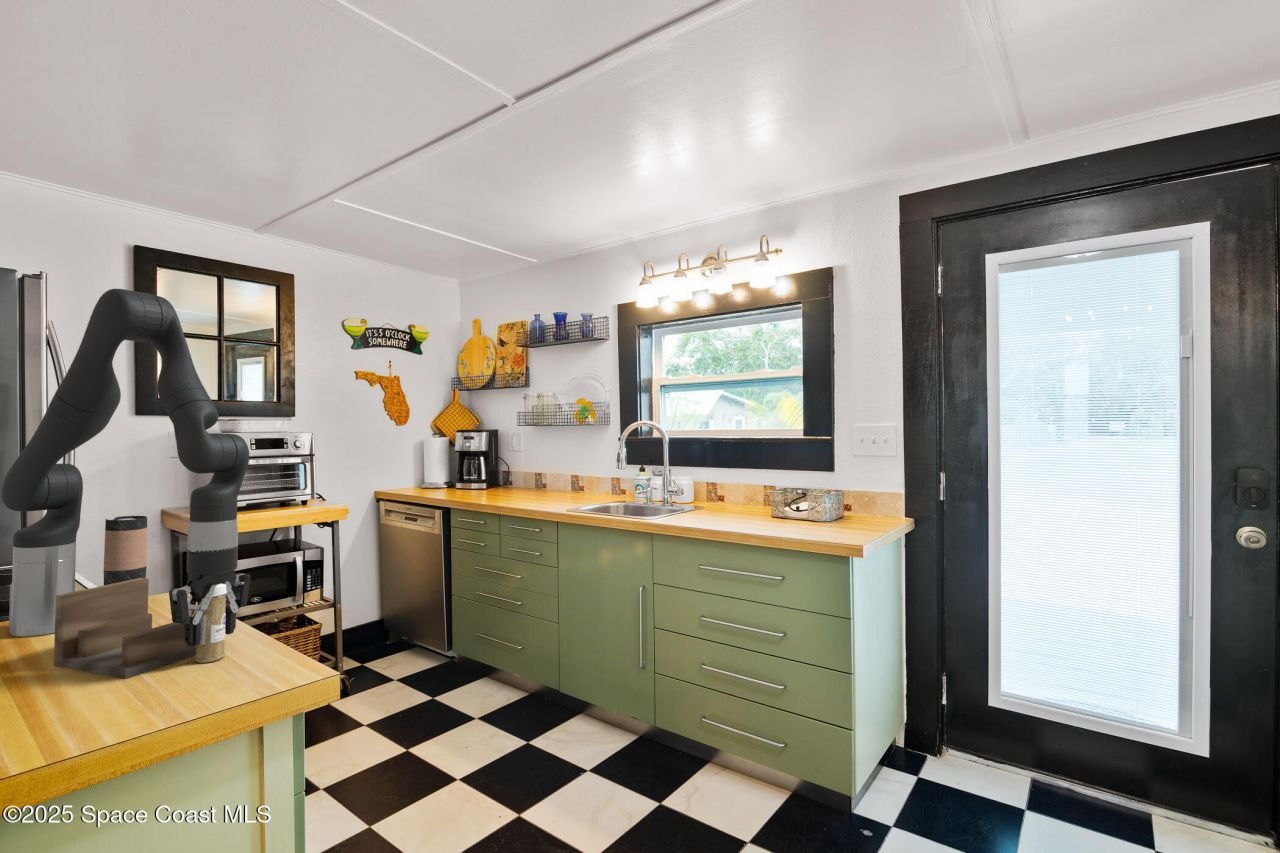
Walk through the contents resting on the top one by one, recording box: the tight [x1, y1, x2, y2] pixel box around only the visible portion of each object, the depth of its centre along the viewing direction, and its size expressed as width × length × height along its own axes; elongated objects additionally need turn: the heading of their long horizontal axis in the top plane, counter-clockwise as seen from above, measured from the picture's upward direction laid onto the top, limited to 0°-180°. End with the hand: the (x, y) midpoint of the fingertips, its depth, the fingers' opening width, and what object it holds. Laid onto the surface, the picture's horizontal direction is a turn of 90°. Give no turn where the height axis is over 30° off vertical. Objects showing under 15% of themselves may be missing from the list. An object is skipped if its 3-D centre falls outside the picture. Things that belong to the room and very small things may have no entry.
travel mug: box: [103, 515, 148, 586], centre depth 144 cm, size 8×8×20 cm
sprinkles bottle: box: [194, 583, 227, 664], centre depth 112 cm, size 5×5×14 cm
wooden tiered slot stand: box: [53, 578, 196, 679], centre depth 112 cm, size 17×14×12 cm
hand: (210, 638), depth 112 cm, fingers open, 6 cm apart
